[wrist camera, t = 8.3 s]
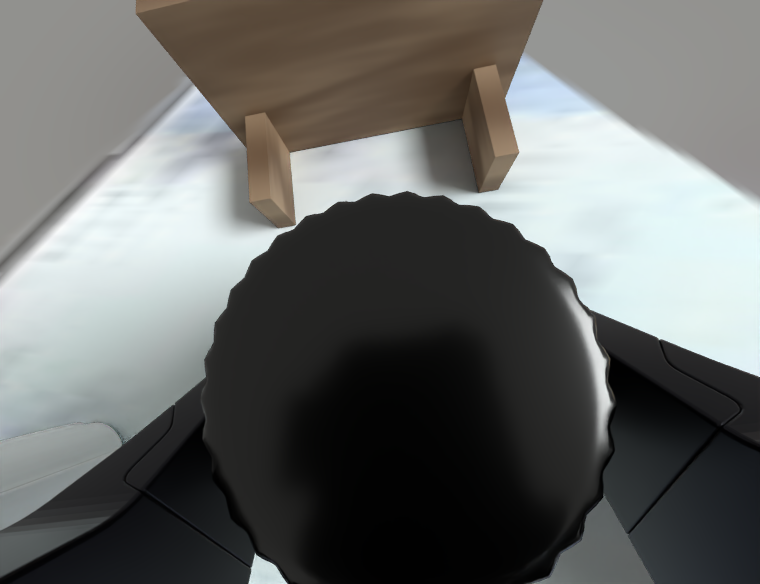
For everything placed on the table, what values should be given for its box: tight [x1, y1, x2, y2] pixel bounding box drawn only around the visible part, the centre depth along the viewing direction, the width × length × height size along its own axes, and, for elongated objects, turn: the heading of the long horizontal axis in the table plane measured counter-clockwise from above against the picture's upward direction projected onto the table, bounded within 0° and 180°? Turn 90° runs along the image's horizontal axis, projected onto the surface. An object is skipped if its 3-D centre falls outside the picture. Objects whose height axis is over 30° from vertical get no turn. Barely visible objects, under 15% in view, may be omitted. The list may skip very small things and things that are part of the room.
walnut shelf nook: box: [136, 0, 543, 228], centre depth 15 cm, size 7×17×9 cm, turn 98°
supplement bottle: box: [200, 191, 617, 584], centre depth 9 cm, size 7×7×12 cm
